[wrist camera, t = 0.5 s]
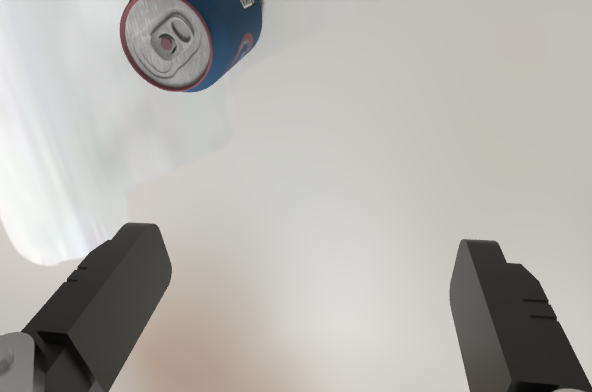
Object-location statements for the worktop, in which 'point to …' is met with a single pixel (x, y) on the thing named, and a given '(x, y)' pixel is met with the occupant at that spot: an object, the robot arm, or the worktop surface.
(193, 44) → the soda can
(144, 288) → the robot arm
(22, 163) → the worktop surface
